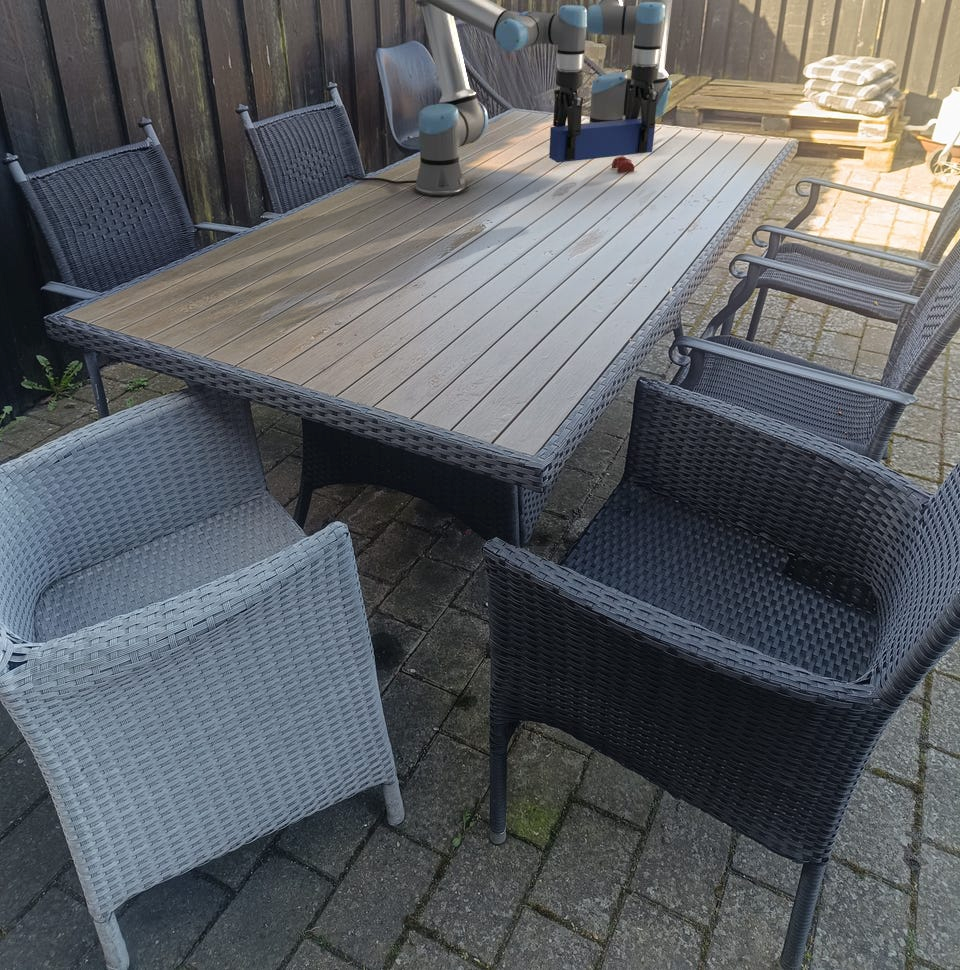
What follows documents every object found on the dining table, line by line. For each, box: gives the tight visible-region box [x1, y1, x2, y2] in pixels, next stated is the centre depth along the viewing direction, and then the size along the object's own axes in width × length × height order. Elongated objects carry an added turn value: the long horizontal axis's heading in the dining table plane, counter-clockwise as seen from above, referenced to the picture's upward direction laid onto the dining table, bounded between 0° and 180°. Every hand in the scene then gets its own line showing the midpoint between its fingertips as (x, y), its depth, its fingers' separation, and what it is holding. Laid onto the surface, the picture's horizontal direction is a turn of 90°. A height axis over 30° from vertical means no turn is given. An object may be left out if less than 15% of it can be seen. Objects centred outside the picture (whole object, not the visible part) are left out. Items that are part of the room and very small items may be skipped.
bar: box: [548, 117, 656, 164], centre depth 248 cm, size 32×6×9 cm, turn 111°
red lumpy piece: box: [611, 155, 635, 174], centre depth 274 cm, size 6×4×8 cm
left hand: (565, 156), depth 247 cm, fingers closed on bar, 6 cm apart
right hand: (636, 149), depth 254 cm, fingers closed on bar, 6 cm apart
